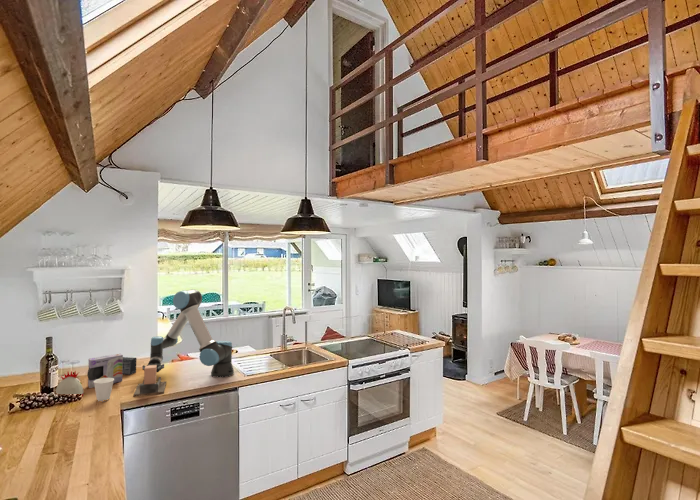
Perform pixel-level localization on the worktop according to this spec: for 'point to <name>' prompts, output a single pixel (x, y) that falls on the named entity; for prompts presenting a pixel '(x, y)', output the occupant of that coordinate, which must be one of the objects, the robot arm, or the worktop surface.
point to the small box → (129, 366)
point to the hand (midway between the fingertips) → (150, 374)
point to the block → (150, 374)
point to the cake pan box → (105, 368)
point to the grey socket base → (150, 388)
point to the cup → (103, 388)
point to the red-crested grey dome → (70, 385)
